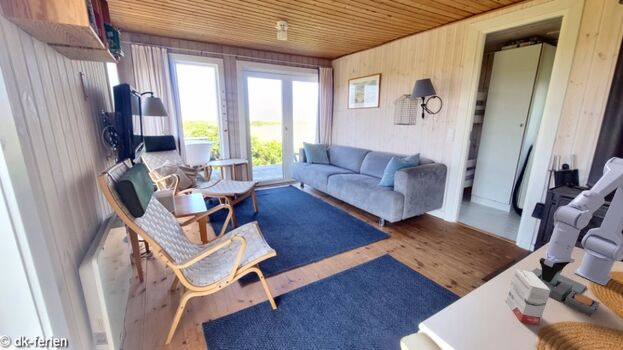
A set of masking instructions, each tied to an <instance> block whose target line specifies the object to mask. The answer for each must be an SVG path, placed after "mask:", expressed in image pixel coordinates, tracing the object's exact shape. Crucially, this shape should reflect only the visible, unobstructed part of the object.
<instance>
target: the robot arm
mask: <svg viewBox="0 0 623 350" xmlns="http://www.w3.org/2000/svg"><path fill="white" fill-rule="evenodd" d="M602 172H603V173H602V174H603V175H602V176H601V177H600V178H599V180H597V182H596V183H595V184H594V185H593V186H592V188H590V190H583V191H581V192H580V193H579V194H578V195H576V197H575V198H574V199H572V200H571V201H570V202H569V203H568V204H567V205H561V206H559V207H558V208H557V209H556V210H555V212H554V214H553V220H554V222H553V226H554V228H553V231H552V234H551V237H550V240H549V243H548V246H547V248H546V250H545V251H544V252H545V258H544V257H540V259H539V264H540V267H541V270H542V280H544V281H546V282H548V283H550V282H551V281H552V280H553V278H554V276H555V275H556V274H557V272H558V271H560V270H562V269H563V270H564V269H565V267H566V266H568V265H569V264H570V263H571V264H574V263H575V259H574V258H572V257H571V256H572V254H573V251H574V248H575V247H576V243H577V241H578V237H579V236H580V233H581V230H583V229H584V228H585V227H587V225H588V224H589V223H590V220H591V219H592V218H593V215H594V213H595V212H596V211H597V210H598V209H600V208H601V206H603V205H604V204H605V197H606V196H608V195H609V194H611V193H612V192H613V191H614V190H616V191H615V193H614V196H613V198H612V200H611V203H610V205H609V207H608V210H607V211H606V214H605V216H604V218H603V221H602V222H601V225H600V227H596V228H591V229H589V230H588V231H587V233H586V234H585V235H584V236H583V238H582V240H581V245H582V247H583V248H584V249H583V251H584V252H585V253H584V255H583V258H582V261H581V262H580V266H579V267H578V268H577V269H576V270H574V271H573V273H574V274H576V275H578V276H580V277H582V278H585V279H587V280H589V281H592V282H594V283H596V284H599V285H601V286H603V285H604V286H606V285H607V283H608V282H609V281H610V280H611V279H612V276H610V273H611V271H612V269H613V266H614V264H615V262H621V261H622V260H623V233H622V231H623V158H620V157H617V156H614V157H612V158H610V159H608V160H607V161H606V163H605V165H604V167H603V171H602ZM563 270H562V271H563ZM604 286H603V287H604Z"/></svg>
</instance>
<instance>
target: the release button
mask: <svg viewBox="0 0 623 350" xmlns="http://www.w3.org/2000/svg"><path fill="white" fill-rule="evenodd" d="M574 299H575V300H577V301H579V302H581V303H583V304H585V305H587V306H589V307H591V304H592V302H593V301H592V300H591V299H592V298H591V299H590V297H589V298H588V296H587V295H584V294H583V293H580V294H575V296H574Z"/></svg>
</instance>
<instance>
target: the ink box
mask: <svg viewBox="0 0 623 350" xmlns="http://www.w3.org/2000/svg"><path fill="white" fill-rule="evenodd" d="M550 291H551V290H550V289H549V288H548V287H547V286H546V285H545V284H544V283H543V282H542V281H541V280H540V279H539V278H538V277H537V276H536V275H535V274H534V273H533V272H531V271H529V270H522V269H519V268H518V269H517V268H516V269H514V273H513V275H512V280H511V283H510V286H509V289H508V291H507V295H506V299H505V302H506V304H507V305H508V306H509V308H510V309H511V310H512V312H513V313H514V315H515V316H516V317H517V319H518V321H519V322H521V323H525V324H530V325H538V326H539V324H540V322H541V320H542V317H543V314H544V313H543V312H544V311H545V307H546V306H547V302H548V299H549V297H550V296H549V294H550Z"/></svg>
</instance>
